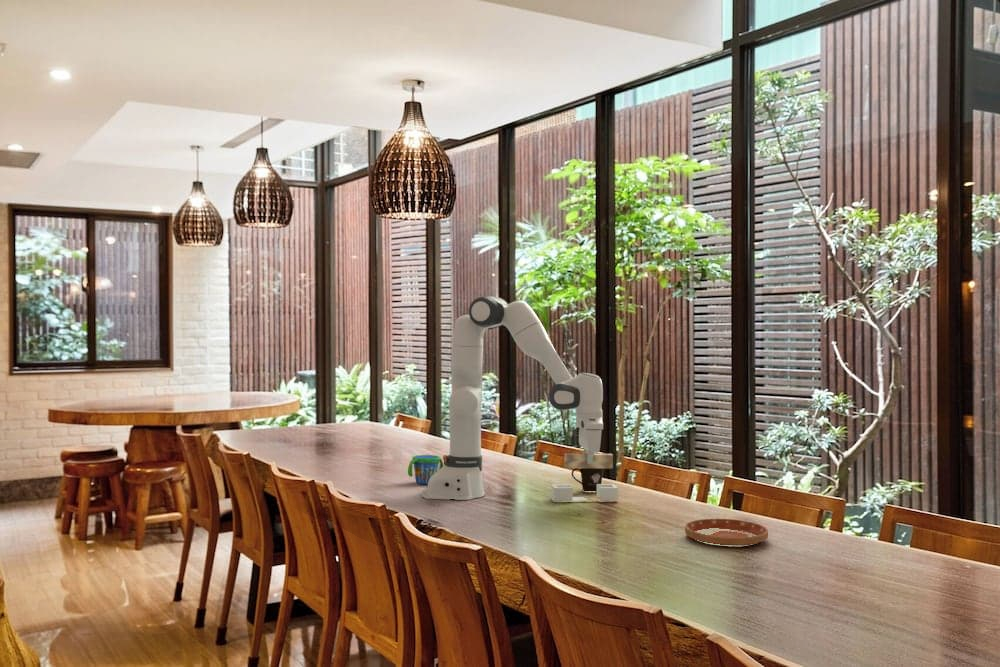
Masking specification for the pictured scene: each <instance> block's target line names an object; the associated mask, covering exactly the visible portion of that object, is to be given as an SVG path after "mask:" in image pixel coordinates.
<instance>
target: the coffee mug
mask: <svg viewBox="0 0 1000 667" xmlns="http://www.w3.org/2000/svg"><path fill="white" fill-rule="evenodd" d="M576 470H577V471H579V472H580V476H581V477H580V478H581V481H580V480H579V479H577V478H576V477H575V476H574V473H575V471H576ZM603 472H604V468H572V471H571V476H572V478H573V479H574V480H575V481H576V482H578V483H579V484H580V485H581V486H582V491H583V490H584V491H596V490H597V484H602V483H603V482H602V481H603Z"/></svg>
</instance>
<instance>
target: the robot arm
mask: <svg viewBox="0 0 1000 667" xmlns="http://www.w3.org/2000/svg"><path fill="white" fill-rule="evenodd" d="M503 326H504V327H506V328H507V330H508V332H509V333H510V335H511V337H512V339H513V340H514V342H515V343H516V345H517V346H518V348H519V350H521V352H522V353H523V354H525V355H526V356H528V357H530V358H533V359H534V360H536V361H538V363H540V364H542V366H543V367H544V368H545V369H546V371H547V372H548V374H549V376H550V378H551V379H552V381H553V383H554V385H553V386H552V387H551V388H550V389H549V391H548V402H549V403H550V405H551V407H553V409H556V410H558V411H569V410H575V412H576V413H575V414H576V415H575V417H576V418H575V425H576V427H579V429H578V444H579V446H581V448H583V454H587V463H588V464H592V463H593V455H594V454H599V452H600V450H601V444H602V443H601V442H602V430H604V422H603V417H604V416H603V412H604V411H603V409H602V408H603V407H602V405H603V401H604V388H603V382H602V379H601V377H600V376H599V375H597V374H594V373H589V372H580V373H579V374H577V375H576V376H573V375H572V374H571V372H570V371H569V370H568V368H567V366H566V365H565V363H564V362H563V360H562V359H561V357H560V355H559V353H557V351H556V349H555V347H554V345H553V342H552V341H551V339H550V337H549V334H548V333H547V331H546V328H545V327H544V325H543V323H542V322H541V319H539V317H538V315H537V314H536V313H535V311H534V310H533V308H532V307H531V306H530V305H529V304H528V303H527V302H526V301H524V300H522V299H521V300H515V301H514V300H513V301H512V302H511V303H509V302H508V301H507V300H506V299H504V298H502V297H499V296H493V295H488V296H487V295H483V296H479V297H476V298H474V300H473V301H472V302H471V303H470V305H469V308H468V314H464V315H461V316H459V317H458V318H456V319H455V323H454V327H453V331H452V332H453V333H452V342H451V345H452V346H451V394H450V396H449V401H448V407H449V408H448V409H449V410H448V412H449V414H448V415H449V454H443V456H442V461H443V465H444V466H443V467H442V468H441V469H439V468H438V471H437V472H435V473H434V474H433V475H432V476H431V477H430V479H429V482H428V485H427V488H425V489H423V490H422V491H421V493H420V494H421V497H422V498H423V497H424V499H427V500H429V499H430V500H450V499H455V500H454V501H458V500H459V501H469V500H470V501H471V500H472V499H478V498H482V497H484V496H486V492H485V489H484V483H483V477H482V471H483V456H482V427H481V426H482V423H481V422H482V403H483V402H482V401H483V367H484V366H483V365H484V364H483V362H484V336H485V333H486V331H487V330H489V331H490V330H494V329H497V328H500V327H503Z"/></svg>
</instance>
